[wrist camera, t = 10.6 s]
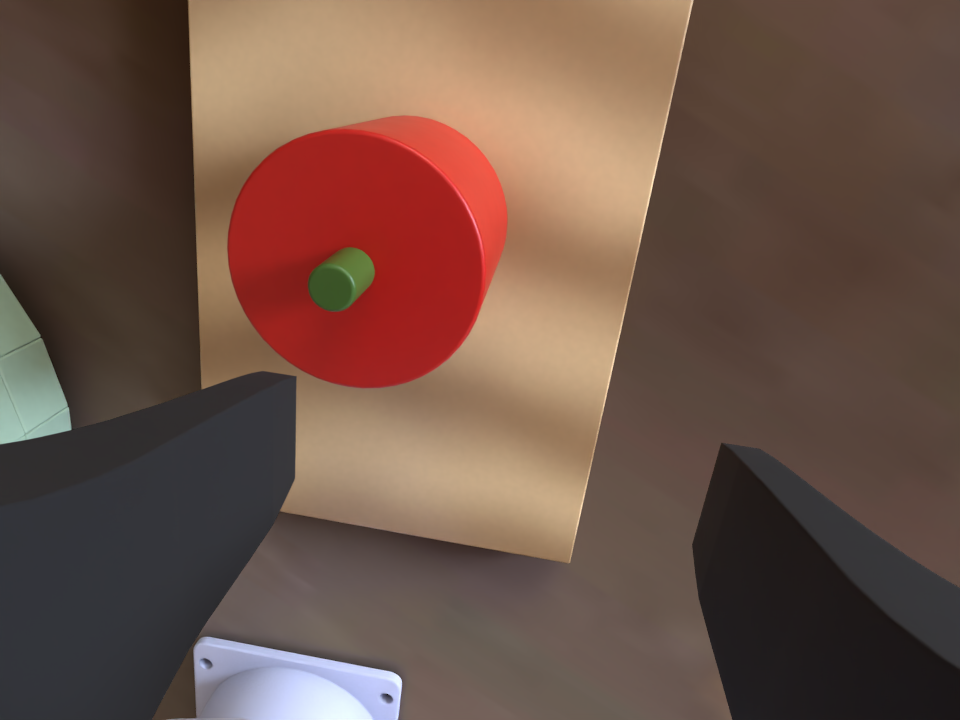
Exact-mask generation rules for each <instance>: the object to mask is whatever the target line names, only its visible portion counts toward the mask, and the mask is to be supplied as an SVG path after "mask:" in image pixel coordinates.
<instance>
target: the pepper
mask: <svg viewBox="0 0 960 720" xmlns="http://www.w3.org/2000/svg"><path fill="white" fill-rule="evenodd" d="M507 222H508V221H507V207H506V201H505V196H504V193H503V190H502V186H501V183H500V181H499V179H498V177H497V175H496V172H495V170H494V169H493V167H492V166H491V164H490V162H489V161H488V159H487V158H486V157H485V155H484V154H483V153H482V152H481V151H480V149H479V148H478V147H477V146H476V145H475V144H474V143H472V142H471V141H470V140H469V139H468V138H467V137H465V136H464V135H463V134H461V133H460V132H458V131H457V130H455V129H453V128H451V127H449V126H447V125H446V124H443V123H441V122H438V121H435V120H432V119H429V118H424V117H419V116H408V115H401V116H390V117H385V118H380V119H375V120H370V121H366V122H361V123H356V124H351V125H347V126H342V127H337V128H332V129H327V130H323V131H318V132H314V133H309V134H306V135H304V136H301V137H298V138H296V139H293V140H291V141H290V142H288V143H286V144H284V145H282V146H281V147H279V148H277V149H276V150H275V151H274V152H272V153H271V154H270V155H268V156H267V157H266V158H265V159H264V160H263V161H262V162H261V163H260V164H259V165H258V166H257V167H256V168H255V169H254V170H253V172H252V173H251V174H250V176H249V177H248V179H247V180H246V182H245V183H244V185H243V187H242V189H241V191H240V193H239V195H238V197H237V199H236V202H235V205H234V208H233V211H232V214H231V218H230V224H229V229H228V241H227V253H228V266H229V270H230V275H231V280H232V284H233V287H234V289H235V292H236V295H237V298H238V300H239V302H240V304H241V307H242V309H243V311H244V313H245V314H246V316H247V318H248V319H249V321H250V322H251V324H252V326H253V327H254V328H255V330H256V331H257V332H258V333H259V335H260V336H261V337H262V339H263V340H264V341H265V342H266V343H267V344H268V345H269V346H270V347H271V348H272V349H273V350H274V351H275V352H276V353H278V354H279V355H280V356H281V357H283V358H284V359H285V360H286V361H287V362H289V363H290V364H292V365H294V366H295V367H297V368H298V369H300V370H301V371H303V372H305V373H307V374H309V375H312V376H314V377H316V378H318V379H321V380H324V381H327V382H329V383H332V384H337V385H341V386H346V387H353V388H363V389H365V388H384V387H391V386H397V385H400V384H404V383H408V382H411V381H413V380H415V379H418V378H420V377H422V376H425V375H426V374H428V373H430V372H431V371H433V370H435V369H436V368H438V367H439V366H440V365H442V364H443V363H444V362H445V361H447V360H448V359H449V358H450V357H451V356H452V355H453V354H454V353H455V352H456V351H457V350H458V349H459V348H460V346H461V345H462V344H463V342H464V341H465V339H466V338H467V336H468V335H469V333H470V332H471V330H472V328H473V326H474V324H475V322H476V320H477V317H478V315H479V312H480V310H481V307H482V304H483V302H484V299H485V296H486V294H487V291H488V289H489V286H490V283H491V281H492V278H493V275H494V273H495V270H496V268H497V265H498V262H499V260H500V257H501V254H502V251H503V249H504V245H505V240H506V235H507Z"/></svg>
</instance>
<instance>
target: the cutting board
mask: <svg viewBox="0 0 960 720" xmlns="http://www.w3.org/2000/svg"><path fill="white" fill-rule="evenodd" d="M692 4H693V0H188V19H189V47H190V76H191V105H192V133H193V162H194V191H195V219H196V248H197V276H198V305H199V334H200V362H201V390H202V389H205V388H207V387H210V386H213V385H216V384H219V383H221V382H224V381H227V380H230V379H233V378H236V377H239V376H243V375H246V374H250V373H254V372H259V371H267V372H273V373H279V374H286V375H292V376H297V383H296V458H295V480H294V482H293V484H292V486H291V489H290V491H289V493H288V495H287V497H286V499H285V502H284V504H283V506H282V508H281V510H280V512H286V513H291V514H297V515H302V516H308V517H313V518H319V519H325V520H330V521H336V522H341V523H347V524H352V525H358V526H363V527H369V528H375V529H380V530H386V531H391V532H397V533H402V534H408V535H413V536H419V537H425V538H430V539H436V540H441V541H447V542H452V543H458V544H464V545H469V546H475V547H480V548H486V549H491V550H497V551H502V552H508V553H514V554H519V555H525V556H530V557H536V558H541V559H547V560H552V561H558V562H564V563H570V560H571V555H572V551H573V546H574V542H575V537H576V533H577V528H578V524H579V519H580V514H581V510H582V505H583V501H584V496H585V492H586V487H587V483H588V478H589V473H590V469H591V464H592V460H593V455H594V451H595V446H596V442H597V437H598V432H599V428H600V423H601V419H602V414H603V410H604V405H605V401H606V396H607V391H608V387H609V382H610V378H611V373H612V369H613V364H614V360H615V355H616V350H617V346H618V341H619V337H620V332H621V328H622V323H623V318H624V314H625V309H626V305H627V300H628V296H629V291H630V287H631V282H632V277H633V273H634V268H635V264H636V259H637V255H638V250H639V246H640V241H641V236H642V232H643V227H644V223H645V218H646V214H647V209H648V205H649V200H650V195H651V191H652V186H653V182H654V177H655V173H656V168H657V164H658V159H659V154H660V150H661V145H662V141H663V136H664V132H665V127H666V123H667V118H668V113H669V109H670V104H671V100H672V95H673V91H674V86H675V82H676V77H677V72H678V68H679V63H680V59H681V54H682V50H683V45H684V41H685V36H686V31H687V27H688V22H689V18H690V13H691V9H692ZM401 115H408V116H419V117H424V118H429V119H432V120H435V121H438V122H441V123H443V124H446V125H447V126H449V127H451V128H453V129H455V130H457V131H458V132H460V133H461V134H463V135H464V136H465V137H467V138H468V139H469V140H470V141H471V142H472V143H474V144H475V145H476V146H477V147H478V148H479V149H480V151H481V152H482V153H483V154H484V155H485V157H486V158H487V159H488V161H489V162H490V164H491V166H492V167H493V169H494V170H495V172H496V175H497V177H498V179H499V181H500V183H501V186H502V190H503V193H504V196H505V201H506V207H507V221H508V222H507V235H506V240H505V245H504V249H503V251H502V254H501V257H500V260H499V262H498V265H497V268H496V270H495V273H494V275H493V278H492V281H491V283H490V286H489V289H488V291H487V294H486V296H485V299H484V302H483V304H482V307H481V310H480V312H479V315H478V317H477V320H476V322H475V324H474V326H473V328H472V330H471V332H470V333H469V335H468V336H467V338H466V339H465V341H464V342H463V344H462V345H461V346H460V348H459V349H458V350H457V351H456V352H455V353H454V354H453V355H452V356H451V357H450V358H449V359H448V360H447V361H445V362H444V363H443V364H442V365H440V366H439V367H438V368H436V369H435V370H433V371H431V372H430V373H428V374H426V375H425V376H422V377H420V378H418V379H415V380H413V381H411V382H408V383H404V384H400V385H397V386H391V387H384V388H365V389H363V388H353V387H346V386H341V385H337V384H332V383H329V382H327V381H324V380H321V379H318V378H316V377H314V376H312V375H309V374H307V373H305V372H303V371H301V370H300V369H298V368H297V367H295V366H294V365H292V364H290V363H289V362H287V361H286V360H285V359H284V358H283V357H281V356H280V355H279V354H278V353H276V352H275V351H274V350H273V349H272V348H271V347H270V346H269V345H268V344H267V343H266V342H265V341H264V340H263V339H262V337H261V336H260V335H259V333H258V332H257V331H256V330H255V328H254V327H253V326H252V324H251V322H250V321H249V319H248V318H247V316H246V314H245V313H244V311H243V309H242V307H241V304H240V302H239V300H238V298H237V295H236V292H235V289H234V287H233V284H232V280H231V275H230V270H229V266H228V253H227V241H228V229H229V224H230V218H231V214H232V211H233V208H234V205H235V202H236V199H237V197H238V195H239V193H240V191H241V189H242V187H243V185H244V183H245V182H246V180H247V179H248V177H249V176H250V174H251V173H252V172H253V170H254V169H255V168H256V167H257V166H258V165H259V164H260V163H261V162H262V161H263V160H264V159H265V158H266V157H267V156H268V155H270V154H271V153H272V152H274V151H275V150H276V149H277V148H279V147H281V146H282V145H284V144H286V143H288V142H290V141H291V140H293V139H296V138H298V137H301V136H304V135H306V134H309V133H314V132H318V131H323V130H327V129H332V128H337V127H342V126H347V125H351V124H356V123H361V122H366V121H370V120H375V119H380V118H385V117H390V116H401Z"/></svg>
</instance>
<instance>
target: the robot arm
mask: <svg viewBox="0 0 960 720" xmlns="http://www.w3.org/2000/svg"><path fill="white" fill-rule="evenodd" d="M296 383H297V376H292V375H286V374H279V373H273V372H267V371H259V372H254V373H250V374H246V375H243V376H239V377H236V378H233V379H230V380H227V381H224V382H221V383H219V384H216V385H213V386H210V387H207V388H205V389H202V390H199V391H196V392H193V393H190V394H188V395H185V396H182V397H179V398H176V399H173V400H171V401H168V402H165V403H162V404H158V405H155V406H152V407H149V408H146V409H143V410H139V411H136V412H133V413H130V414H127V415H123V416H120V417H117V418H114V419H111V420H107V421H104V422H100V423H97V424H93V425H89V426H85V427H81V428H77V429H73V430H69V431H65V432H60V433H56V434H51V435H47V436H43V437H38V438H33V439H28V440H23V441H17V442H11V443H5V444H0V720H152V718H153V716H154V714H155V712H156V710H157V708H158V706H159V704H160V703H161V701H162V699H163V697H164V695H165V693H166V691H167V690H168V688H169V686H170V684H171V682H172V680H173V678H174V677H175V675H176V673H177V671H178V669H179V667H180V665H181V664H182V662H183V660H184V658H185V656H186V654H187V652H188V651H189V649H190V647H191V646H192V644H193V643H194V641H195V639H196V638H197V636H198V635H199V633H200V631H201V630H202V628H203V627H204V625H205V624H206V622H207V621H208V619H209V618H210V616H211V615H212V613H213V612H214V611H215V609H216V608H217V606H218V605H219V603H220V602H221V600H222V599H223V597H224V596H225V595H226V593H227V592H228V590H229V589H230V587H231V586H232V584H233V583H234V581H235V580H236V579H237V577H238V576H239V574H240V573H241V571H242V570H243V568H244V567H245V566H246V564H247V563H248V561H249V560H250V558H251V557H252V555H253V554H254V552H255V551H256V549H257V548H258V546H259V545H260V543H261V542H262V540H263V539H264V537H265V536H266V534H267V533H268V531H269V530H270V528H271V527H272V525H273V524H274V522H275V520H276V518H277V516H278V514H279V512H280V510H281V508H282V506H283V504H284V502H285V499H286V497H287V495H288V493H289V491H290V489H291V486H292V484H293V482H294V480H295V458H296ZM692 547H693V556H694V565H695V574H696V581H697V589H698V596H699V600H700V604H701V608H702V612H703V616H704V620H705V623H706V627H707V631H708V634H709V638H710V642H711V645H712V649H713V652H714V656H715V659H716V663H717V666H718V670H719V674H720V677H721V681H722V684H723V688H724V691H725V695H726V699H727V702H728V706H729V709H730V713H731V716H732V720H960V588H959V587H957V586H955V585H954V584H952V583H950V582H949V581H947V580H945V579H944V578H942V577H940V576H938V575H937V574H935V573H933V572H932V571H930V570H929V569H927V568H925V567H924V566H922V565H921V564H919V563H918V562H916V561H914V560H913V559H911V558H910V557H908V556H907V555H905V554H904V553H902V552H901V551H899V550H898V549H897V548H895V547H894V546H892V545H891V544H889V543H888V542H886V541H885V540H883V539H882V538H881V537H879V536H878V535H876V534H875V533H873V532H872V531H870V530H869V529H868V528H866V527H865V526H864V525H862V524H861V523H859V522H858V521H857V520H855V519H854V518H853V517H851V516H850V515H849V514H847V513H846V512H845V511H843V510H842V509H841V508H839V507H838V506H837V505H835V504H834V503H833V502H831V501H830V500H829V499H827V498H826V497H825V496H824V495H822V494H821V493H820V492H818V491H817V490H816V489H815V488H813V487H812V486H811V485H809V484H808V483H807V482H806V481H804V480H803V479H802V478H800V477H799V476H798V475H796V474H795V473H794V472H793V471H791V470H790V469H789V468H787V467H786V466H785V465H783V464H782V463H781V462H779V461H778V460H776V459H775V458H773V457H772V456H770V455H769V454H767V453H766V452H764V451H762V450H761V449H757V448H751V447H745V446H738V445H732V444H725V443H721V446H720V450H719V453H718V457H717V460H716V464H715V467H714V471H713V474H712V478H711V481H710V485H709V488H708V492H707V495H706V498H705V502H704V505H703V509H702V512H701V516H700V519H699V523H698V526H697V530H696V533H695V537H694V540H693V544H692ZM193 655H194V676H195V697H196V718H176V719H168V720H398V717H399V708H400V699H401V690H402V680H401V678H400V677H399V676H398V675H397V674H395V673H393V672H390V671H385V670H379V669H374V668H369V667H364V666H359V665H353V664H348V663H343V662H338V661H333V660H327V659H322V658H317V657H312V656H307V655H301V654H296V653H291V652H286V651H281V650H275V649H270V648H265V647H260V646H255V645H250V644H244V643H239V642H234V641H229V640H224V639H218V638H213V637H202V638H200V639H199V640H198V642H197V643H196V645H195V646H194V649H193ZM386 694H389V695H386Z"/></svg>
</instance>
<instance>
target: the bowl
mask: <svg viewBox="0 0 960 720" xmlns="http://www.w3.org/2000/svg"><path fill="white" fill-rule="evenodd" d="M40 337H41V335H40V333H39V332H38V330H37V329H36V327H35V326H34V324H33V323H32V321H31V320H30V318H29V317H28V315H27V314H26V312H25V311H24V309H23V308H22V306H21V304H20V303H19V301H18V300H17V298H16V297H15V295H14V294H13V292H12V291H11V289H10V288H9V286H8V285H7V283H6V282H5V280H4V279H3V277H2V276H1V274H0V444H5V443H11V442H17V441H23V440H28V439H33V438H38V437H43V436H47V435H51V434H56V433H60V432H65V431H69V430H72V428H71V419H70V411H69V407H67V406H68V404H67V401H66V398H65V396H64V393H63V391H62V388H61V385H60V383H59V380H58V378H57V375H56V373H55V370H54V367H53V365H52V362H51V360H50V357H49V354H48V352H47V349H46V347H45V344H44V342H43V339H42V338H40Z"/></svg>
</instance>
